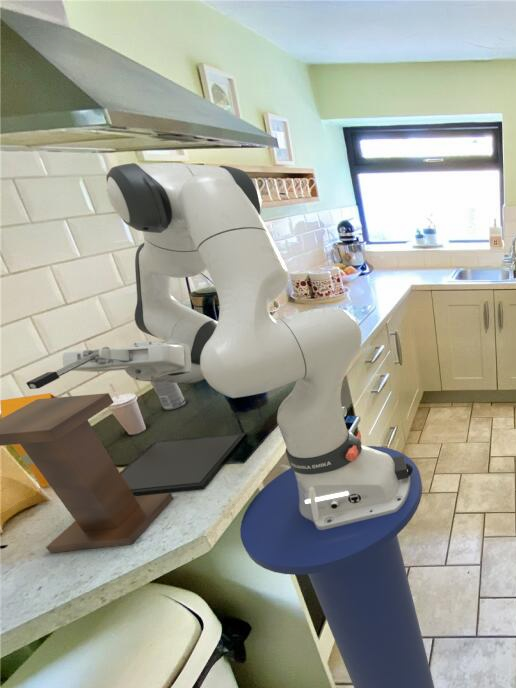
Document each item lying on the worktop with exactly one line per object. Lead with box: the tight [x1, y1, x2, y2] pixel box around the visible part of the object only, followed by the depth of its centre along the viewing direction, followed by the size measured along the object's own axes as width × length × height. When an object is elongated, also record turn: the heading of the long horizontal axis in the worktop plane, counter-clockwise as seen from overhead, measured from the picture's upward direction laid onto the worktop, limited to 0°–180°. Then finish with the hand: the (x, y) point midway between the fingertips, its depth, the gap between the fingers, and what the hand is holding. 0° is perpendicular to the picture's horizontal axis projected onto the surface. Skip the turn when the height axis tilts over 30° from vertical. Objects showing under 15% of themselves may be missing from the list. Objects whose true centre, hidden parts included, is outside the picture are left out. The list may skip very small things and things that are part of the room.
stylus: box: [25, 346, 111, 390], centre depth 75 cm, size 1×16×1 cm, turn 6°
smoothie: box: [106, 382, 147, 436], centre depth 108 cm, size 6×6×14 cm
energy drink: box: [150, 382, 187, 411], centre depth 120 cm, size 5×5×12 cm
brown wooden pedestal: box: [0, 392, 174, 554], centre depth 75 cm, size 14×12×25 cm
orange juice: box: [0, 392, 58, 488], centre depth 91 cm, size 8×9×20 cm
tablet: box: [119, 432, 248, 497], centre depth 96 cm, size 22×20×1 cm
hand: (91, 354), depth 79 cm, fingers closed on stylus, 1 cm apart
